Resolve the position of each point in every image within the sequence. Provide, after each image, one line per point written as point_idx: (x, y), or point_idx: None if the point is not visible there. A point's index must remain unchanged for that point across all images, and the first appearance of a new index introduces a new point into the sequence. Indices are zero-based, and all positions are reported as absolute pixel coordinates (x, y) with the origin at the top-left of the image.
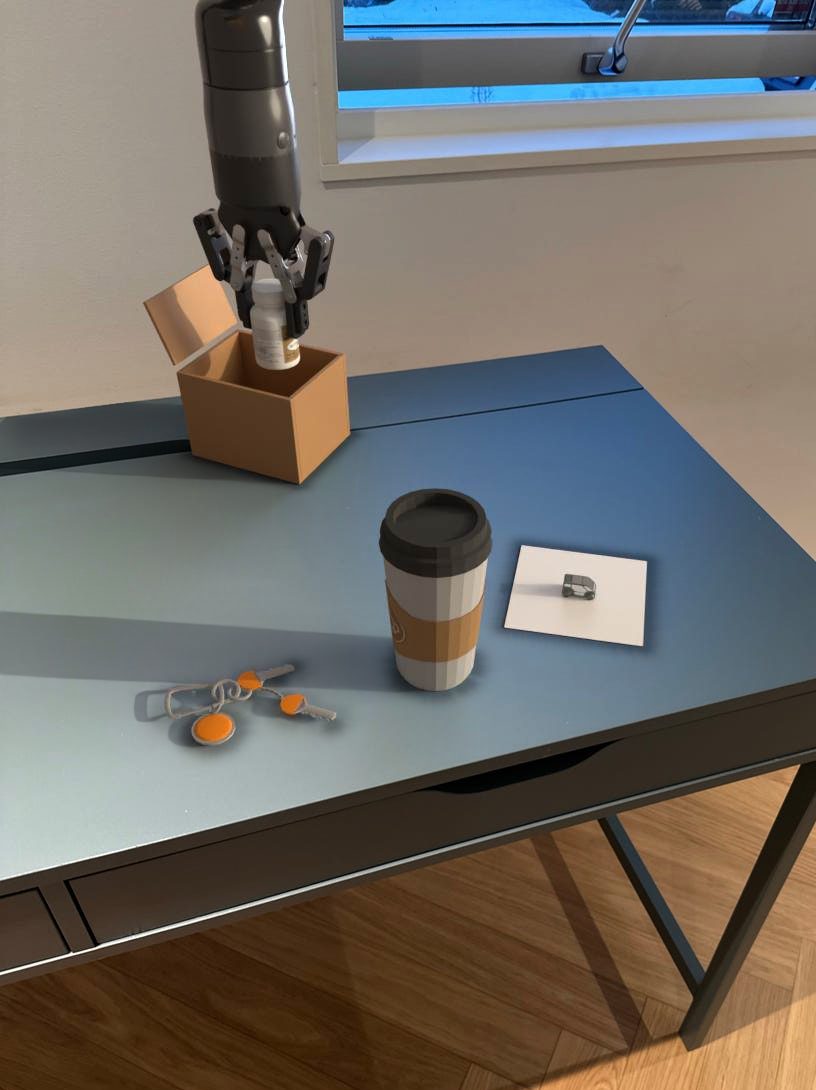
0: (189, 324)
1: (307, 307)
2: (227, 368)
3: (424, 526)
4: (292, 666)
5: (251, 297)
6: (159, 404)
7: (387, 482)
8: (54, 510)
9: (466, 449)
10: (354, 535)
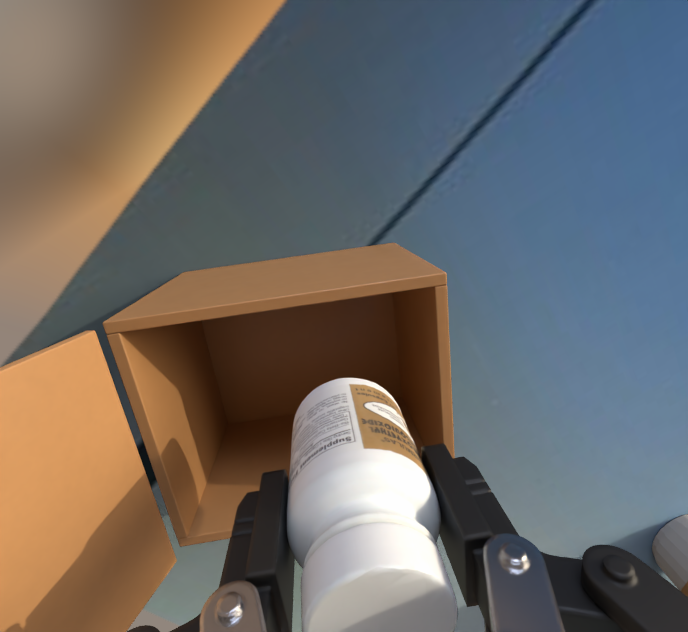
0: (99, 539)
1: (504, 513)
2: (168, 370)
3: None
4: None
5: (284, 576)
6: None
7: (516, 325)
8: (186, 586)
9: (596, 168)
10: (529, 439)
